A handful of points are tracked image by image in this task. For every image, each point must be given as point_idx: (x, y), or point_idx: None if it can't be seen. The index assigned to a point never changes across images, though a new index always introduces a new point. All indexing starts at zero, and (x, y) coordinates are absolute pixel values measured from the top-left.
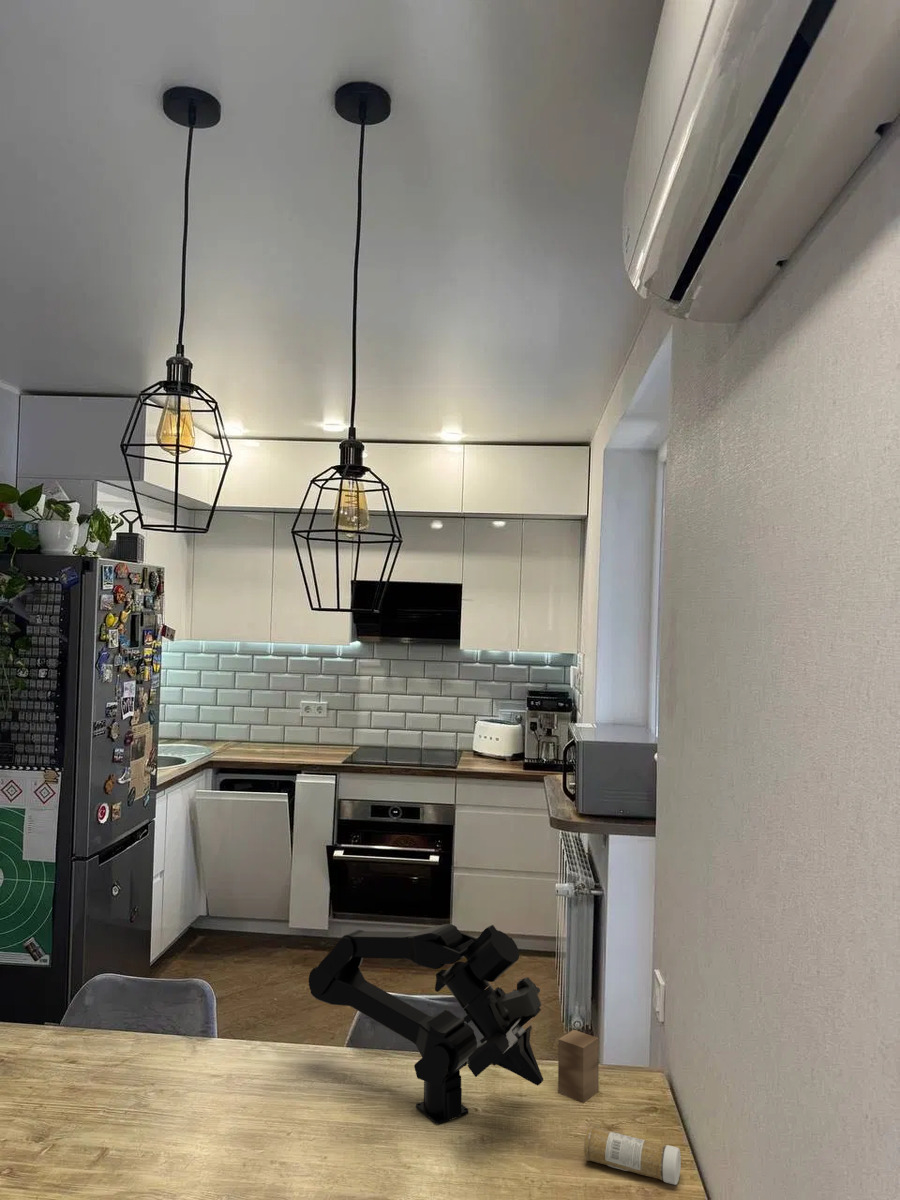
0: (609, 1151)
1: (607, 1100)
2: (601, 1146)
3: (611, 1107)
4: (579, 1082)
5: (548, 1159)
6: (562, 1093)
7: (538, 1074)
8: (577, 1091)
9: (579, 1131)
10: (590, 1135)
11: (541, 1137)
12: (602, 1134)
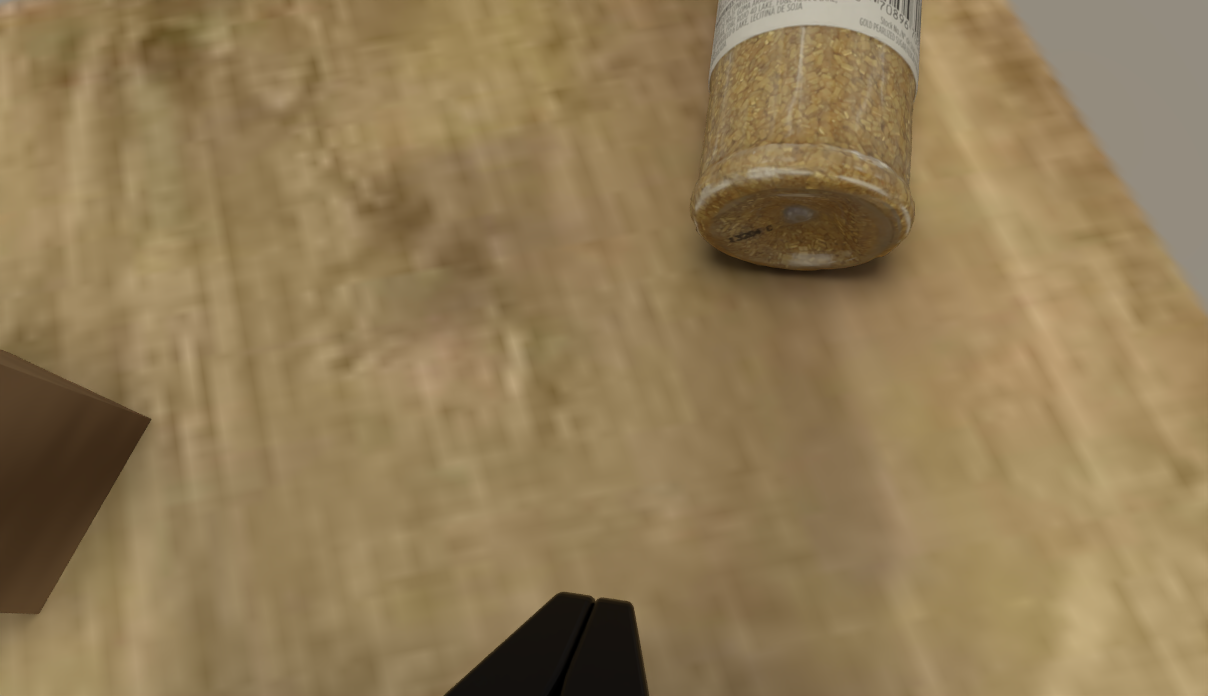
0: (915, 51)
1: (102, 284)
2: (906, 93)
3: (178, 248)
4: (31, 416)
5: (910, 520)
6: (51, 577)
7: (597, 659)
8: (79, 448)
9: (493, 381)
10: (868, 154)
11: (646, 626)
12: (839, 70)
